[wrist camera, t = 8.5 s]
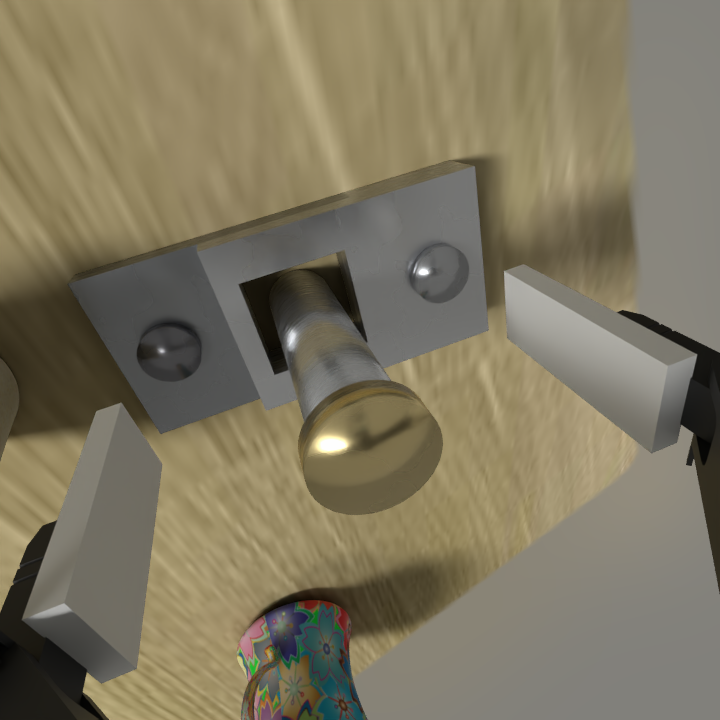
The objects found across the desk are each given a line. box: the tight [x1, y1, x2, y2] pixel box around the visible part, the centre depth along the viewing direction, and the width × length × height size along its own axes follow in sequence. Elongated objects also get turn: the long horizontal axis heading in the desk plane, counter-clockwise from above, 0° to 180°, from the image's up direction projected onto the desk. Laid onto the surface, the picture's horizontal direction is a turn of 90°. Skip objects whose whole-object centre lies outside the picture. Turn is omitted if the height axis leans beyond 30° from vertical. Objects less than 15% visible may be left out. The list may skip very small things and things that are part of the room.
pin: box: [269, 270, 443, 515], centre depth 17 cm, size 4×4×12 cm
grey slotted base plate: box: [68, 160, 489, 434], centre depth 21 cm, size 8×17×3 cm, turn 103°
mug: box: [237, 600, 367, 720], centre depth 29 cm, size 12×9×11 cm
